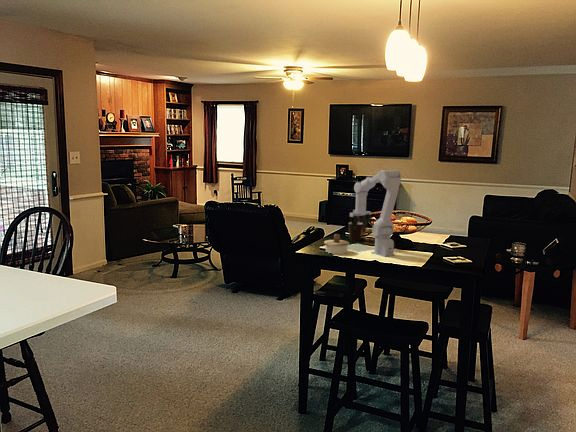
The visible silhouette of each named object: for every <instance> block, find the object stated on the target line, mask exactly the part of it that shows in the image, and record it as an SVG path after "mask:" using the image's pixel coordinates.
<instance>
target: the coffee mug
mask: <svg viewBox="0 0 576 432" xmlns="http://www.w3.org/2000/svg"><path fill="white" fill-rule="evenodd" d="M347 224H348V235H349V237H348V238H349V240H350V241H352V242H353V241H354V242H355V241H356V242H357V241H361V239H362V235H363V234H362V227H363V223H360V222H358V224H357V230H355V229H353V225H352V222H351V221H350V222H348V223H347Z"/></svg>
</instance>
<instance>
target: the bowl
mask: <svg viewBox="0 0 576 432" xmlns="http://www.w3.org/2000/svg"><path fill="white" fill-rule="evenodd" d="M347 248H348V245H347V246H329V245H326V244H325V253H326V252H328V253H327V254H329V253H332V254H331V255H342V254H343V255H344V253H345V254H347V253H348V249H347Z"/></svg>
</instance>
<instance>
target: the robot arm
mask: <svg viewBox="0 0 576 432" xmlns="http://www.w3.org/2000/svg"><path fill="white" fill-rule="evenodd" d="M401 180H402V175H401V171H400V170H398V169H380V170H379V171H378V172H377V173H376V174H375V175H374V176H372V177H371V176H366V177H365V179H363V180H361V181H360V182H359V181H357V182H355V184H354V186H353V190H354V192H355V209H354V210H355V211H354V212H353V211H352V212H349V220H350V222H352V225H353V229H355V230H357V224H358V220H359V218H360V217H361V220H362V221H363V228H365V229H367V227H368V223H369V222H370V219H371V218H372V212H371V211H369V210H367V197H368V193H369V191H370V190H371V189H372V188H374V187H375V186H376V184H377V183H380V184H381V185H382V186H383V188H384V189H385V190H386V193H385V197H384V201H383V205H382V208H381V213H380V216H379V218H378V219H377V220H375V222H374V224H373V225H372V227H371V233H372V236H373V237H374V248H375V249H374V251H371V252H370V253H371V254H372V255H377V256H381V257H384V256H385V257H391V256H395V253H394V249H395V242H394V239H391V236H392V235H393V233H394V225H395V224H394V223H393V221H391V219H392V216H393V212H394V208H395V205H396V201H397V197H398V193H399V188H400V184H401ZM356 216H359V218H358V217H356Z"/></svg>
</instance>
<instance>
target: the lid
mask: <svg viewBox="0 0 576 432" xmlns="http://www.w3.org/2000/svg"><path fill="white" fill-rule="evenodd" d="M340 238H341V235H340V234H338V233H335V234H333V239H327V240H324V241H323V242H324V243H323V244H324V245H325V246H326V245H329V246H347V245H350V242H349V241H348V240H344V239H343V240H342V239H340Z"/></svg>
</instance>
